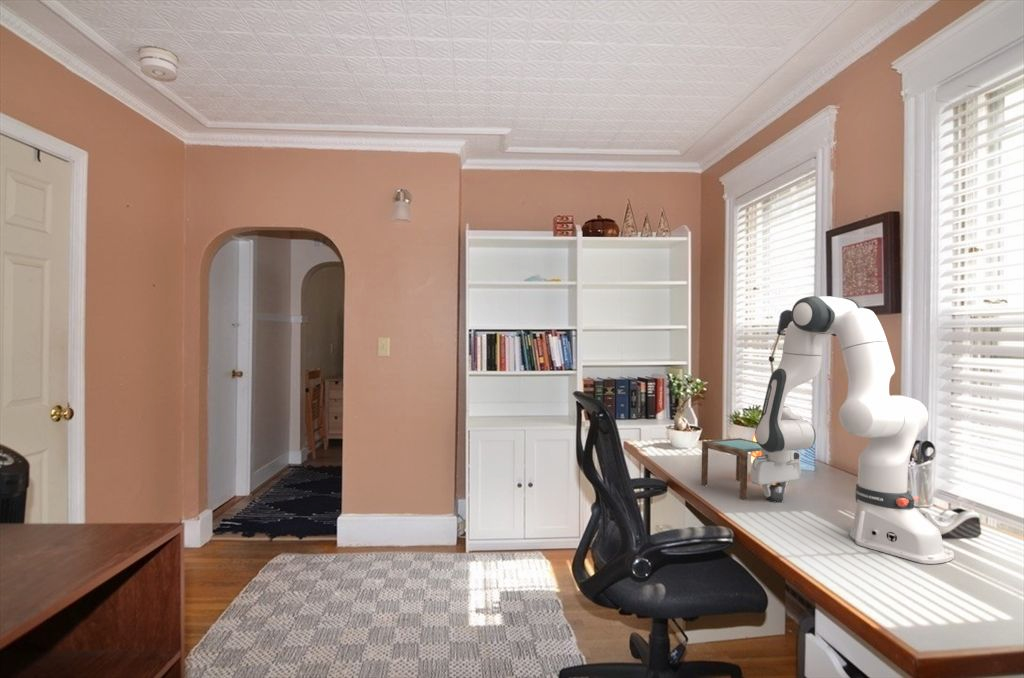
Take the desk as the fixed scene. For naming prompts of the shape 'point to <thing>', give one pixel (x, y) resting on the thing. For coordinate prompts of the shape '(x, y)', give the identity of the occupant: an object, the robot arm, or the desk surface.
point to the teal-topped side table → (740, 462)
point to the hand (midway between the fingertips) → (774, 495)
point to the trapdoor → (741, 445)
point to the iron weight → (776, 492)
